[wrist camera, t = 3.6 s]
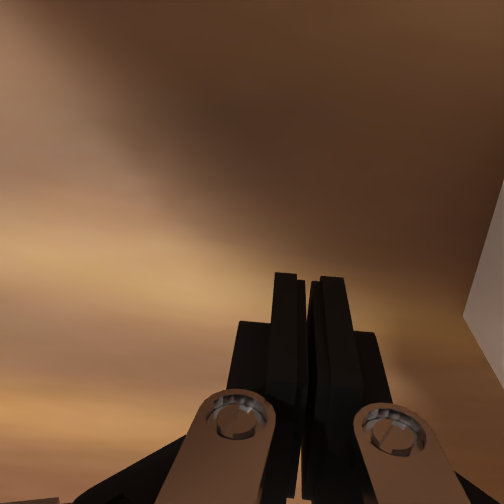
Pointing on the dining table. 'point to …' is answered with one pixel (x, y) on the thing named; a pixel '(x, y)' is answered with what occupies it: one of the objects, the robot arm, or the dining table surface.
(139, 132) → the dining table surface
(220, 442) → the robot arm
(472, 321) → the white box with handle
